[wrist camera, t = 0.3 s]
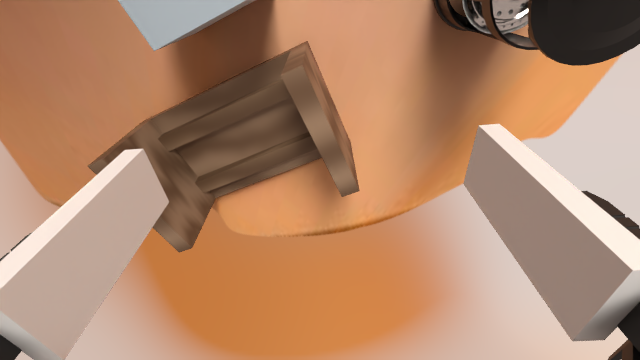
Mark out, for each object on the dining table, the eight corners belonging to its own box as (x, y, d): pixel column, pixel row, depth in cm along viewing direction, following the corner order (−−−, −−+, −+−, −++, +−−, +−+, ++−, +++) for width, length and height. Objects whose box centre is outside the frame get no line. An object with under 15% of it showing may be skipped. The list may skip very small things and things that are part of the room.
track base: (143, 121, 38) (87, 166, 29) (307, 41, 33) (302, 65, 24) (207, 197, 46) (179, 252, 36) (350, 142, 40) (359, 190, 31)
